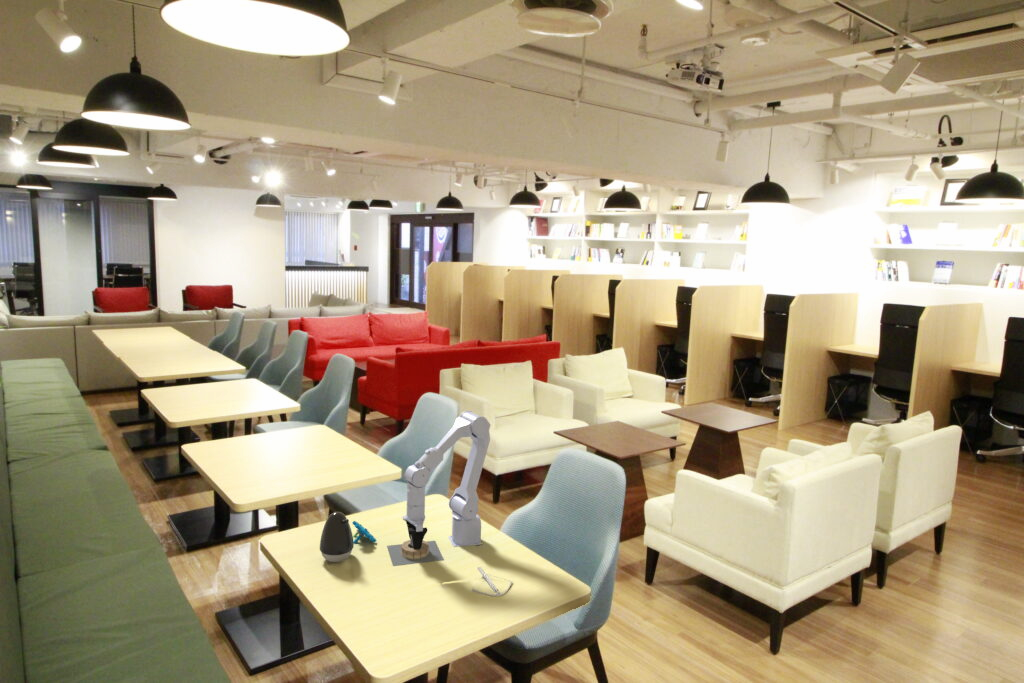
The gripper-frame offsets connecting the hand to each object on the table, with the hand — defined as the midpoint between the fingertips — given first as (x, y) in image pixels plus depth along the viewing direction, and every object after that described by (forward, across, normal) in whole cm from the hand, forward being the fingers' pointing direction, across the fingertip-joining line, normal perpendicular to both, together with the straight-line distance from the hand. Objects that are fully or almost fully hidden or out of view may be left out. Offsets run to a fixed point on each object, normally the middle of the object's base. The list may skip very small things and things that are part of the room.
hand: (415, 543), depth 208 cm
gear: (+4, -13, -15) cm, 20 cm away
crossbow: (+4, +23, +18) cm, 30 cm away
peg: (+3, 0, 0) cm, 3 cm away
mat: (+4, 0, 0) cm, 4 cm away
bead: (+3, 0, 0) cm, 3 cm away
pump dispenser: (+4, -3, -24) cm, 24 cm away
